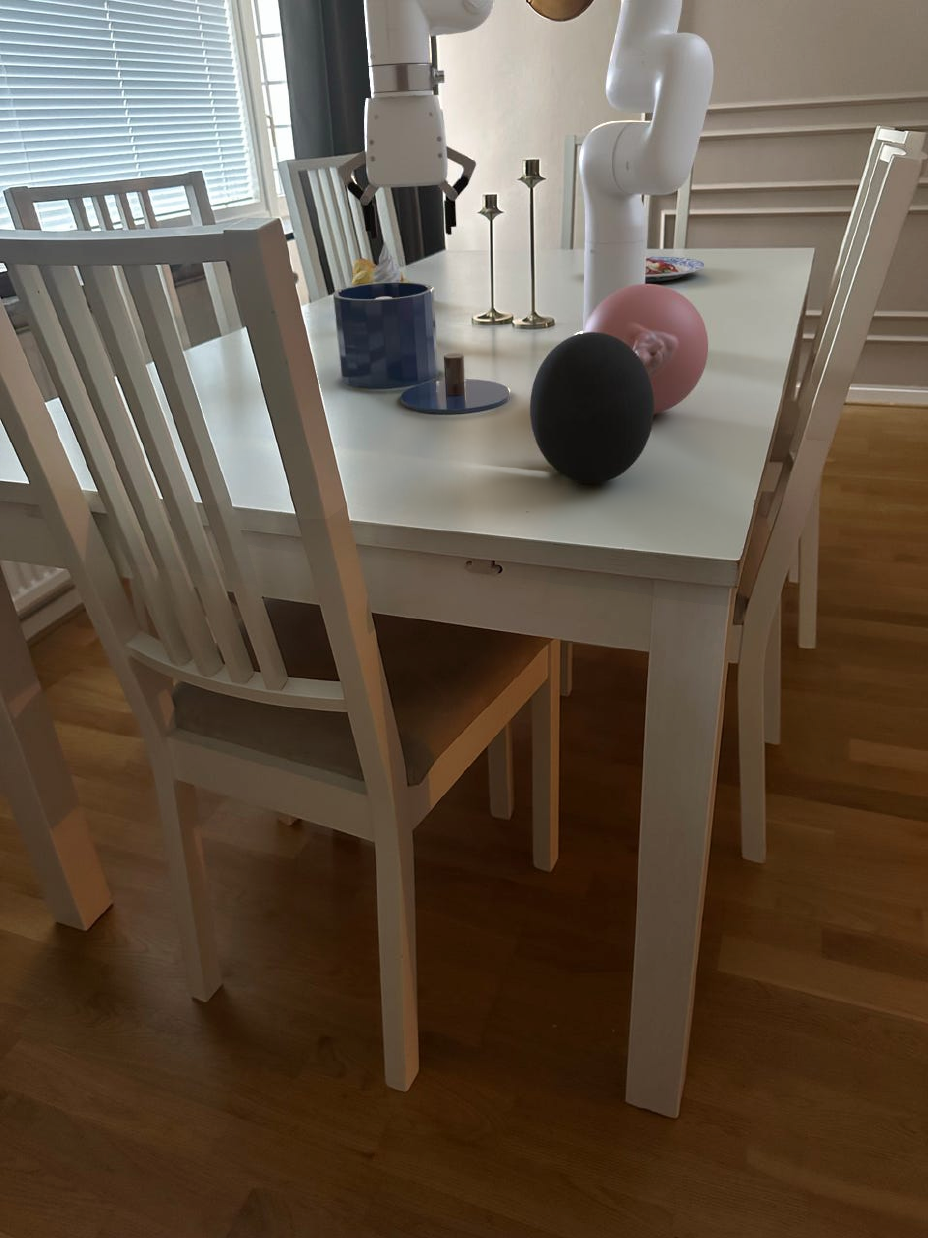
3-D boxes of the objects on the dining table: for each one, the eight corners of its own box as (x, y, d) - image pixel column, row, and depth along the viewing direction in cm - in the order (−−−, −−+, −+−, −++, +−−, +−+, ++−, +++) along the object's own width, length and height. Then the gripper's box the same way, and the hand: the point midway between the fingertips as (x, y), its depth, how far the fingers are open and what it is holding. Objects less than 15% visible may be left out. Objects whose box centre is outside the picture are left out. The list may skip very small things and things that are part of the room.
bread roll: (418, 296, 194) (415, 255, 190) (405, 305, 186) (402, 262, 182) (359, 296, 197) (356, 256, 193) (344, 305, 189) (340, 263, 185)
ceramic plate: (567, 273, 212) (567, 259, 210) (668, 262, 218) (669, 249, 216) (616, 290, 190) (617, 275, 188) (727, 278, 196) (729, 263, 195)
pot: (453, 370, 139) (449, 283, 133) (410, 395, 128) (403, 301, 122) (372, 364, 144) (365, 280, 138) (324, 388, 133) (313, 297, 127)
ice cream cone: (401, 333, 163) (394, 242, 156) (373, 333, 164) (365, 242, 157) (408, 327, 167) (402, 238, 160) (381, 327, 168) (373, 238, 161)
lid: (526, 392, 127) (526, 346, 124) (483, 423, 115) (481, 373, 112) (431, 384, 133) (429, 340, 130) (381, 413, 121) (377, 365, 118)
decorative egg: (635, 507, 90) (643, 351, 82) (514, 495, 94) (512, 344, 87) (660, 465, 100) (669, 322, 92) (550, 455, 104) (550, 317, 96)
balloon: (564, 442, 108) (565, 305, 100) (586, 394, 124) (588, 274, 117) (700, 446, 104) (712, 305, 97) (704, 397, 121) (714, 273, 113)
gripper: (471, 80, 115) (476, 228, 123) (332, 87, 115) (346, 235, 123) (475, 78, 109) (480, 235, 117) (327, 85, 108) (343, 242, 116)
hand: (411, 235), depth 120 cm, fingers open, 9 cm apart
